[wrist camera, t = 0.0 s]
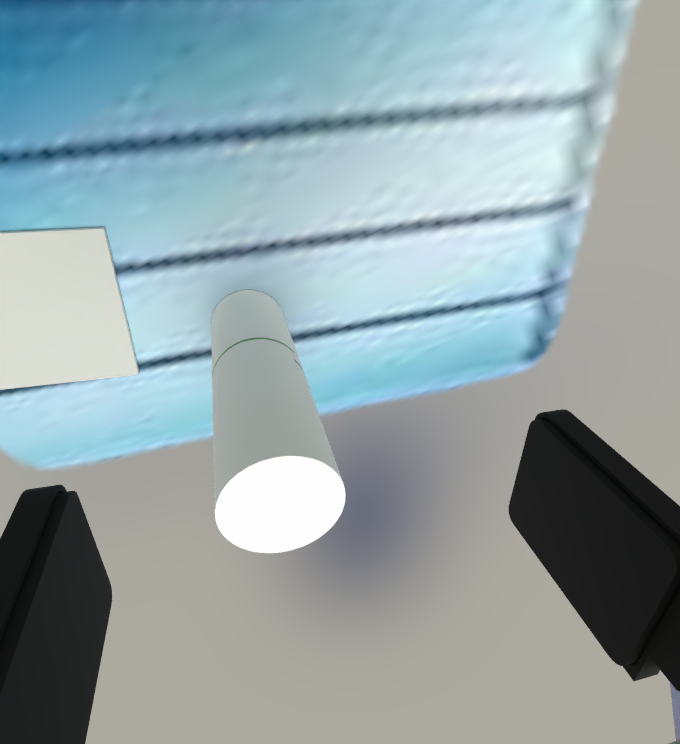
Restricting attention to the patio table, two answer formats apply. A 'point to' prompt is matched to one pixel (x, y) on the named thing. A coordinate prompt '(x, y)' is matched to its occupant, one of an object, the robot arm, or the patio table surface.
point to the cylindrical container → (267, 433)
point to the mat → (61, 309)
